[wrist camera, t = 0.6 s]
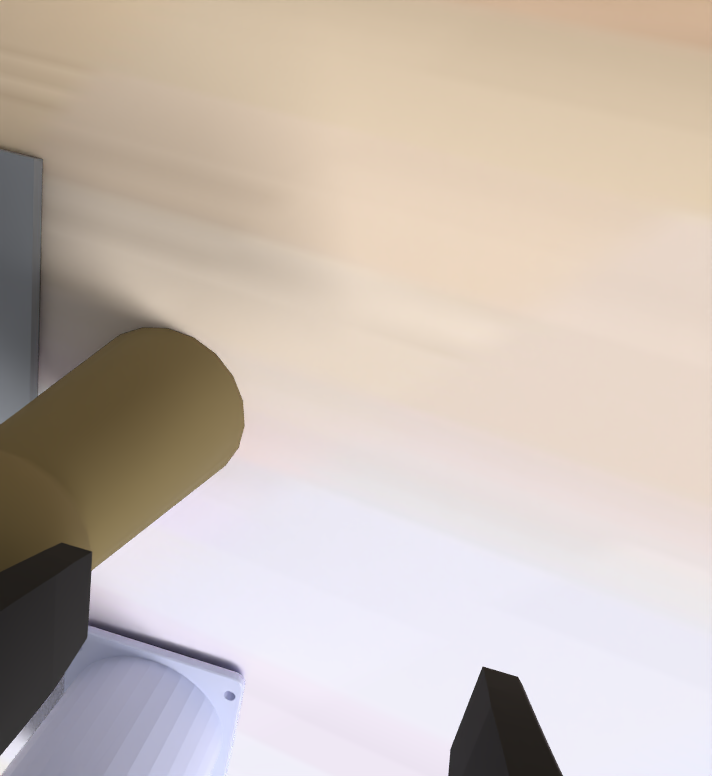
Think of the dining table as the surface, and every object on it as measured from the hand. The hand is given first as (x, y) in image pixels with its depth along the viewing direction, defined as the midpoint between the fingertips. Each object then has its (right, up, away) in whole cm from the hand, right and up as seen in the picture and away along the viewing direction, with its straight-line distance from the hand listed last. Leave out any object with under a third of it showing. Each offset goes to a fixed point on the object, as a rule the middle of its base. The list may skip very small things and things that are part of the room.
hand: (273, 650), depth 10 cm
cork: (-5, +4, +11) cm, 13 cm away
